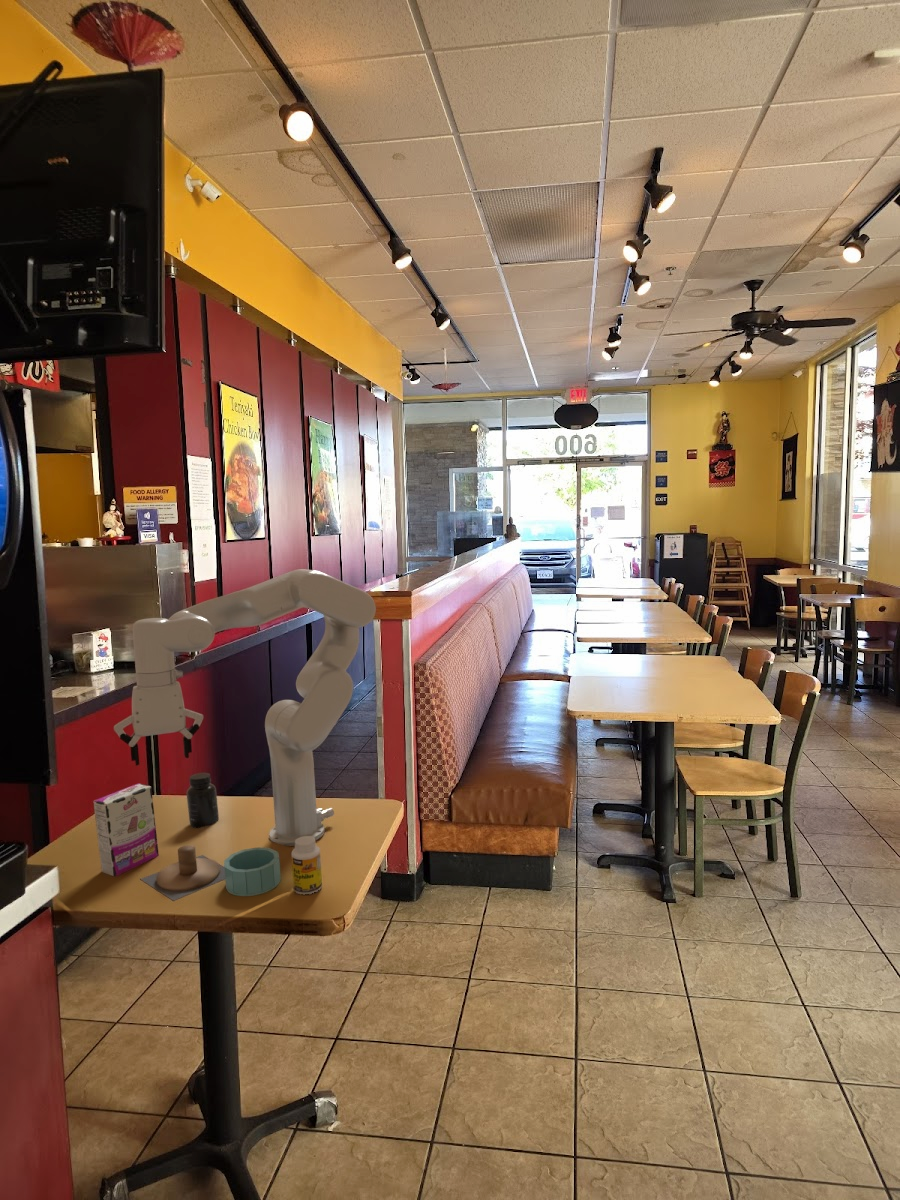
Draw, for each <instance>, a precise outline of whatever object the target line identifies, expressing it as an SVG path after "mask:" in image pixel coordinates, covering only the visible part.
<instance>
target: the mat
mask: <svg viewBox="0 0 900 1200" xmlns="http://www.w3.org/2000/svg"><path fill="white" fill-rule="evenodd" d="M196 858H206V859H210V858H209V857H207V856H205V855H204V854H201V855H199V856H196ZM219 865H220V874H219V876H218V877H217V878H216V879H215V880H214V881H212V882H211V883H209V884H207V885H205V886H202V887H199V888H196V889H192V890H187V891H167V890H163V889H161V888H160V887H158V885H157V880H156V877H157V874H158V873H159V872H160V871H157V872H156V873H153V874H150V875H148V876H144V877H142V878H140V881H142V882H143V883H145V884H147V885H148V886H150V887H151V888H153V889H155V891H157V892H159V893H160V894H162V895H163V896H165V897H167V899H169V900H171V901H172V902H175V901H177V900H179V899H182V898H185V897H186V896H188V895H191V894H194V893H196V892H198V891H201V890H203V889H206V888H208V887H210V886H212V885H215V884H217V883H220V882H222V881H225V869H224V865H222V864H220V863H219Z"/></svg>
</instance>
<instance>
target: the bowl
mask: <svg viewBox="0 0 900 1200" xmlns="http://www.w3.org/2000/svg"><path fill="white" fill-rule="evenodd" d="M223 863H224V865H223V866H224V869H225V880H224V881H225V889H226V890H227V892H228V893H229V894H231V895H234V896H238V897H251V896H259V895H262V894H265V893H267V892H269V891H271V890H274V888H276V887H277V886H279V884H280V882H281V880H282V878H281V877H282V876H281V863H280V853H279V851H278V850H275V849H273V848H271V847H253V848H252V847H251V848H246V849H242V850H239V851H237V852H234V853H231V854H230V855H229V856H228V857H227V858H225V859H224V861H223Z"/></svg>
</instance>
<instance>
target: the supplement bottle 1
mask: <svg viewBox="0 0 900 1200" xmlns="http://www.w3.org/2000/svg"><path fill="white" fill-rule="evenodd" d="M188 779H189V788H188V789H187V790H186V800H187V803H186V804H187V810H188V818H189V826H190V827H192V828H193V829H201V828H203V827H207V826H208V827H209V826H211V825H215V824H216V823H217V822H219V820H220V817H219V815H220V814H219V804H218V797H217V788H216V786H215V785H214V783H213V784H212V783H211V782H212V779H211V774H210V773H209V772H198V773H195V774H192V775H190V777H189V778H188Z"/></svg>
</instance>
